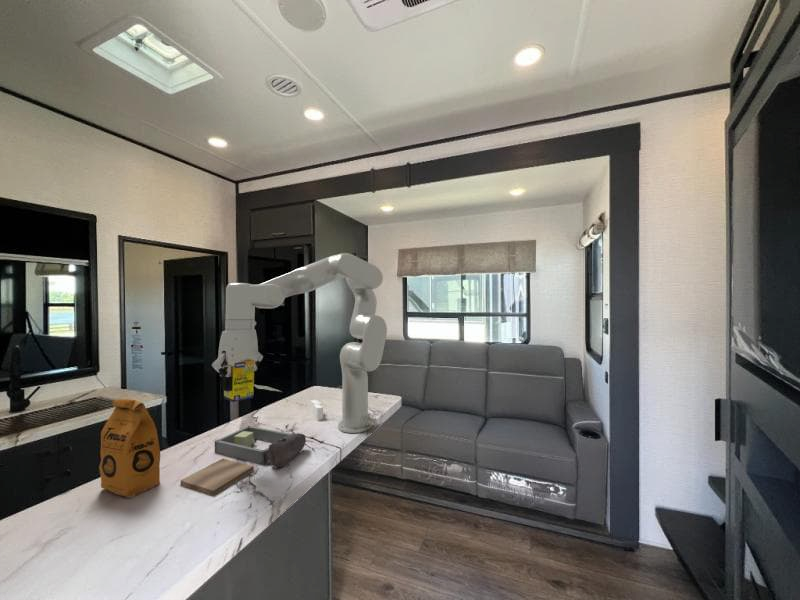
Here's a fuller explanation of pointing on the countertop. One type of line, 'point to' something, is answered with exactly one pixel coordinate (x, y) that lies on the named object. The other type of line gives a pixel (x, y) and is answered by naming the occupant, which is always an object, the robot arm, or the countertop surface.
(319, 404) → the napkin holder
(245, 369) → the supplement box
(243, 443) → the olive block
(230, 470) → the pad
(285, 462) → the perforated stone tool
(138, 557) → the countertop surface
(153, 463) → the coffee package
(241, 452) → the bin
